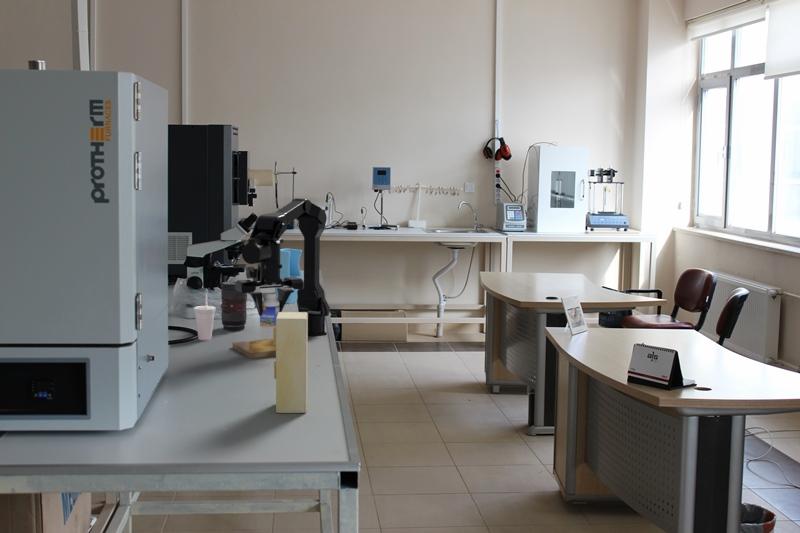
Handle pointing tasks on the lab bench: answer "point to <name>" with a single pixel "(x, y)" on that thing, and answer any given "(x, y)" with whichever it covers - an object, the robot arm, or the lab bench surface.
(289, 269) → the vase
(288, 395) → the toy refrigerator
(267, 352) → the shelf board
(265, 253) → the robot arm
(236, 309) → the camera lens
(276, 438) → the lab bench surface
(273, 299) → the pill bottle
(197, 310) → the smoothie
